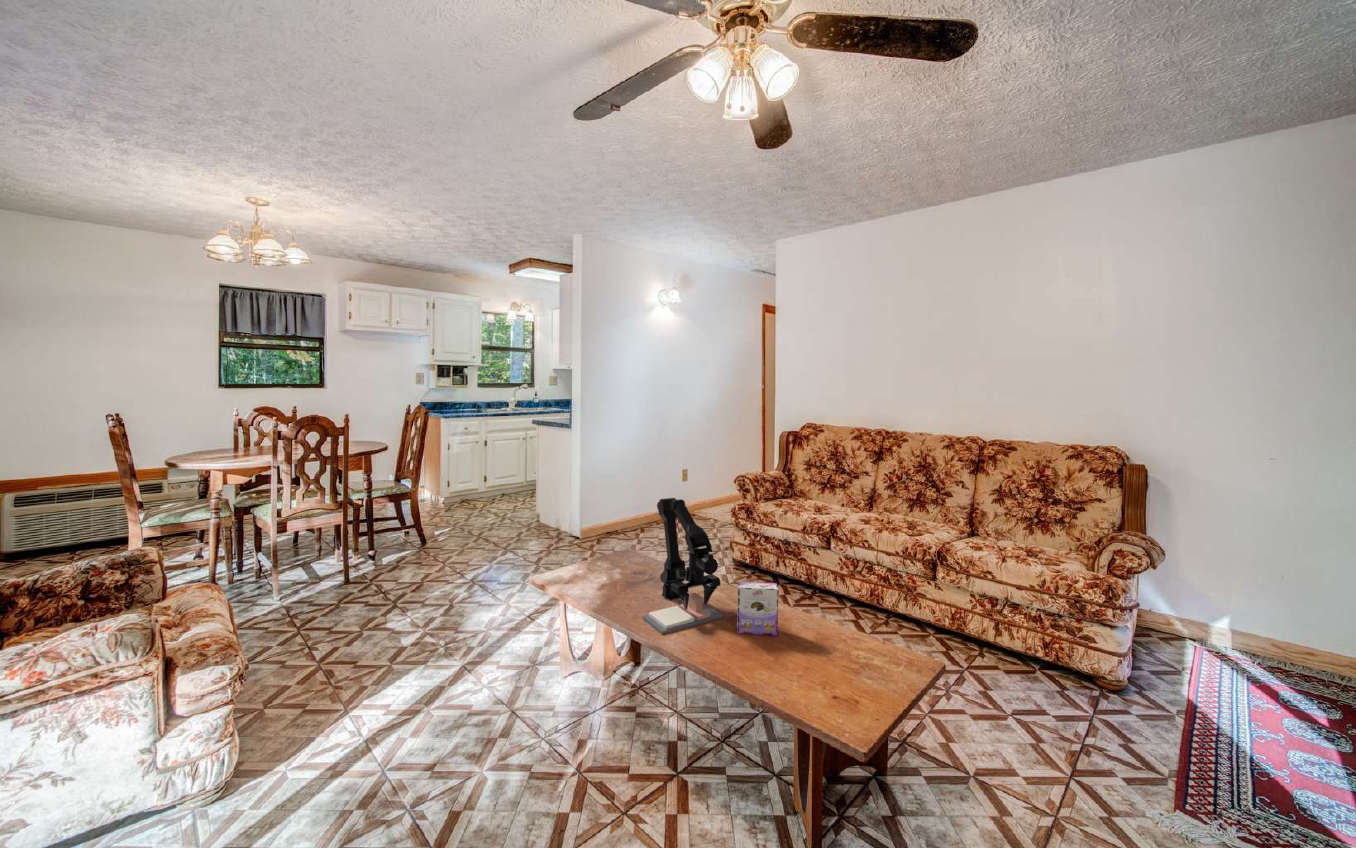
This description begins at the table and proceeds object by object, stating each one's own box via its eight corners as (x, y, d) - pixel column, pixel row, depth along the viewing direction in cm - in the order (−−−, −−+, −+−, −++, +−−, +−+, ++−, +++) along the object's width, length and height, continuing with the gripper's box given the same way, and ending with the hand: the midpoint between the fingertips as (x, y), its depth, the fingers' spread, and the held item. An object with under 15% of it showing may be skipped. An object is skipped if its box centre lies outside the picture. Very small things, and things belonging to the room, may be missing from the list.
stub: (692, 604, 200) (692, 589, 199) (710, 616, 189) (710, 600, 189) (679, 608, 197) (679, 591, 196) (697, 620, 186) (697, 603, 186)
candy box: (776, 628, 184) (777, 582, 183) (777, 636, 178) (779, 589, 177) (736, 625, 185) (737, 580, 184) (736, 633, 179) (738, 587, 178)
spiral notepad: (678, 608, 196) (678, 605, 196) (696, 621, 186) (696, 617, 186) (648, 615, 189) (648, 612, 189) (665, 629, 179) (665, 625, 179)
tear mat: (701, 604, 203) (701, 601, 203) (723, 617, 191) (723, 615, 191) (642, 618, 189) (642, 616, 189) (662, 634, 178) (662, 631, 177)
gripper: (704, 555, 204) (703, 594, 205) (663, 563, 194) (662, 604, 195) (721, 563, 194) (720, 604, 195) (679, 572, 184) (678, 615, 185)
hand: (695, 606), depth 193 cm, fingers open, 8 cm apart
